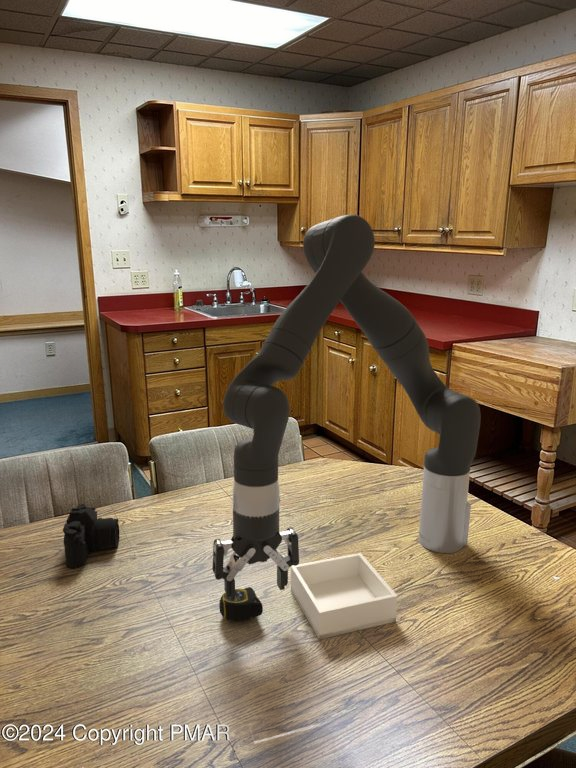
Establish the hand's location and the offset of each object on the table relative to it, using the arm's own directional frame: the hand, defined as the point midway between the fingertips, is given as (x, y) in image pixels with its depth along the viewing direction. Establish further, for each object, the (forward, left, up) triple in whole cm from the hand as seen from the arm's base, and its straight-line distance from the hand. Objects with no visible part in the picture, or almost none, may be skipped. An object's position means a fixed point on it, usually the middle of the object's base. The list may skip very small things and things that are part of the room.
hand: (256, 592), depth 95 cm
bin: (-15, +1, -5) cm, 16 cm away
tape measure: (0, 0, -5) cm, 5 cm away
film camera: (+26, -32, -6) cm, 42 cm away
